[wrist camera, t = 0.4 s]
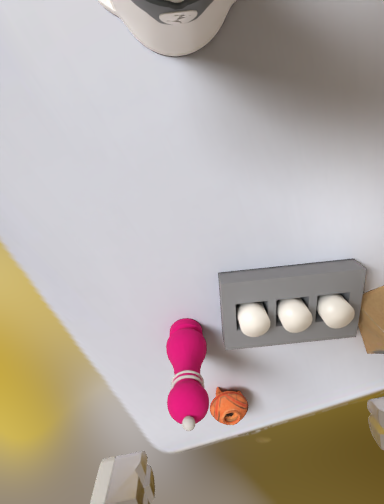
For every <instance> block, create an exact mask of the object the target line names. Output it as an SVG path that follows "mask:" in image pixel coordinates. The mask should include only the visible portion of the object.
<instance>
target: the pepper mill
mask: <svg viewBox="0 0 384 504" xmlns="http://www.w3.org/2000/svg"><path fill="white" fill-rule="evenodd" d="M206 346H207V345H206V341H205V338H204V337H203V333H202V327H201V326H200V324H199V323H198V322H196V321H195V320H193V319H188V318H187V319H180V320H178V321H176V322H175V323H174V324H173V325H172V326H171V329H170V337H169V339H168V341H167V345H166V348H167V355H168V358H169V360H170V362H171V363H172V365H173V368H174V373H175V376H174V377H173V378H172V382H171V391H170V393H169V395H168V401H167V405H168V411H169V413H170V415H171V417H172V418H173V419H174V420H175V421H177V422H178V423H180V424H182V426H183V428H184V429H185V430H186V431H191V430H193V429H194V427H195V423H198V422H199V421H201V420H202V419H203V418H204V417H205V415H206V413H207V411H208V407H209V398H208V394H207V392H206V390H205V389H204V380H203V378H202V376H201V375H200V368H201V364H202V362H203V360H204V358H205V355H206Z"/></svg>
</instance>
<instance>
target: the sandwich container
mask: <svg viewBox="0 0 384 504" xmlns="http://www.w3.org/2000/svg"><path fill="white" fill-rule="evenodd" d="M358 326H359V329H360V332H361V335H362V338H363V341H364V345H365V348H366V351H367V353H368V354H373V353H376V354H384V286H382V287H379V288H377V289H374V290H371V291H369V292H366V293H364V294H363V296H362V302H361V309H360V315H359V322H358Z"/></svg>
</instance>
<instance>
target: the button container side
mask: <svg viewBox="0 0 384 504" xmlns="http://www.w3.org/2000/svg"><path fill="white" fill-rule="evenodd" d="M316 311H317V312H318V314H319V315H320V316H321V318H322V319H323V321H324V322H325V323H326V325H327V326H329V327H331V328H335V329H337V328H342V327H345V326H347V325H348V324H349V323H350V322H351V321H352V320H353V318H354V315H355V312H354V309H353V307H352V306H351V305H350V304H349V303H348V302H347V301H346V300H345V299H344V298H343V297H342V296H341V294H340V293H338V294H328V295H319V296H317V307H316Z"/></svg>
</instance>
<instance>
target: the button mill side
mask: <svg viewBox="0 0 384 504" xmlns="http://www.w3.org/2000/svg"><path fill="white" fill-rule="evenodd" d="M236 314H237V318H238V321H239V324H240V328H241V331H242V332H243V333H244V334H245V335H247V336H249V337H258V336H261V335H263V334H265V333H266V332H267V331H268V330H269V328H270V319H269V317H268V315H267V313H266V310H265V308H264V306H263V304H262V303H261V302H252V303H242V304H239V305H238V306H237V308H236Z"/></svg>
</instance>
